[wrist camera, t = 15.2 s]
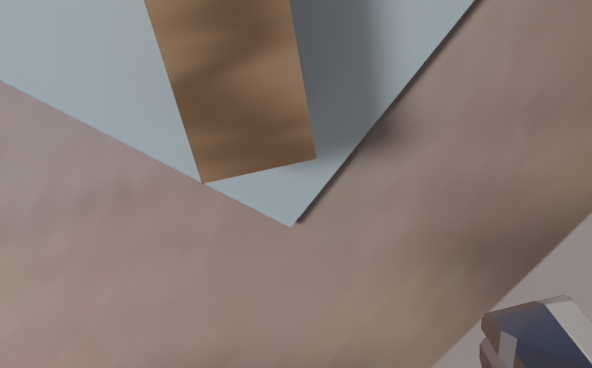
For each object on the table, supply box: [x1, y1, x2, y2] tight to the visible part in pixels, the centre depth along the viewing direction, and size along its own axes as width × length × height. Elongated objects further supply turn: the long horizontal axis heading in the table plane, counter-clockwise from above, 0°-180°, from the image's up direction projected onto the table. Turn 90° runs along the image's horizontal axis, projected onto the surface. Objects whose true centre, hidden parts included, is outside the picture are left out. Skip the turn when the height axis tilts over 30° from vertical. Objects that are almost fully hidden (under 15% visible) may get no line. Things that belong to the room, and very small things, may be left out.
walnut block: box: [144, 0, 317, 184], centre depth 19 cm, size 4×4×9 cm
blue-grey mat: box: [0, 0, 474, 228], centre depth 21 cm, size 16×14×1 cm
